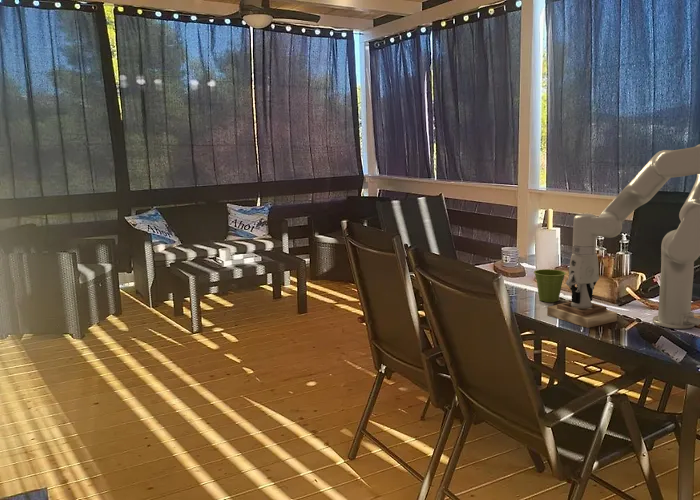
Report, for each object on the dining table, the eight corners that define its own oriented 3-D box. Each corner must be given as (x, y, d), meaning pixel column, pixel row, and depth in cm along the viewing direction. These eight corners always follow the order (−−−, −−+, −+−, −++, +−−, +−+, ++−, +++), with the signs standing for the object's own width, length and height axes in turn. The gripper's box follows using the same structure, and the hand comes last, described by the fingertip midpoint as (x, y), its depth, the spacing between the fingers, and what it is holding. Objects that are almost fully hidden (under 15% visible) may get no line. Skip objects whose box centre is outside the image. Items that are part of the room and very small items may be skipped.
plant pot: (571, 303, 233) (572, 274, 231) (542, 305, 231) (543, 276, 229) (554, 295, 245) (555, 268, 243) (527, 297, 242) (528, 270, 240)
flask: (570, 308, 211) (572, 280, 209) (569, 303, 218) (570, 275, 216) (593, 309, 209) (594, 281, 207) (591, 304, 216) (592, 276, 214)
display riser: (616, 321, 209) (617, 308, 209) (587, 327, 203) (588, 314, 202) (575, 309, 225) (575, 297, 224) (547, 314, 219) (547, 302, 218)
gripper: (574, 254, 203) (572, 307, 206) (610, 249, 210) (607, 300, 214) (557, 251, 209) (555, 302, 213) (592, 246, 217) (590, 295, 220)
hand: (581, 300), depth 213 cm, fingers closed on flask, 5 cm apart
